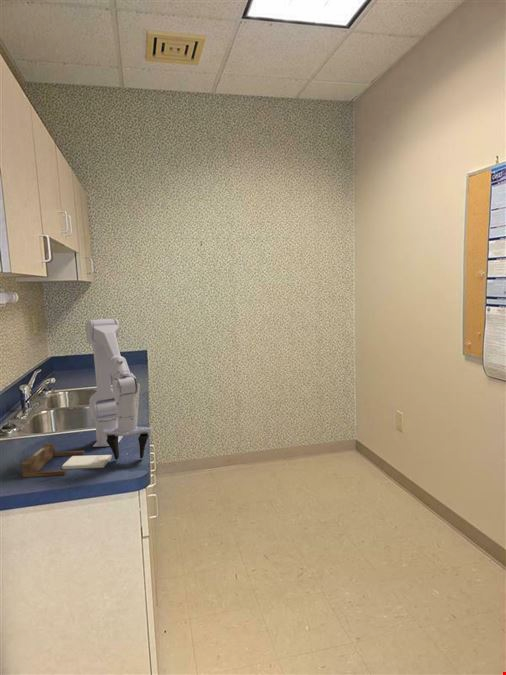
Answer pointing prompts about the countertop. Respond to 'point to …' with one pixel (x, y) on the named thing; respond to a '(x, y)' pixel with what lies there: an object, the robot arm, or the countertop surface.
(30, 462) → the dock
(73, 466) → the external hard drive
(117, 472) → the countertop surface
